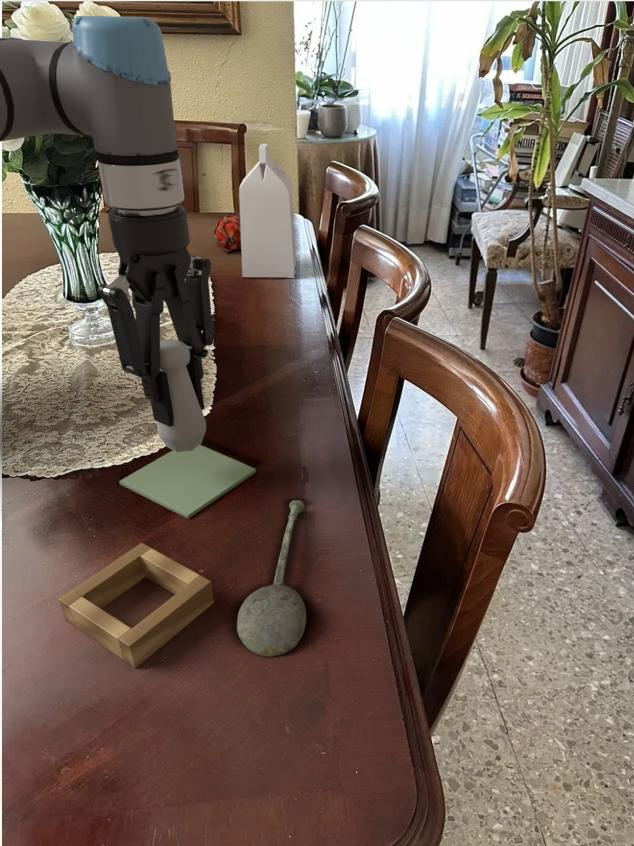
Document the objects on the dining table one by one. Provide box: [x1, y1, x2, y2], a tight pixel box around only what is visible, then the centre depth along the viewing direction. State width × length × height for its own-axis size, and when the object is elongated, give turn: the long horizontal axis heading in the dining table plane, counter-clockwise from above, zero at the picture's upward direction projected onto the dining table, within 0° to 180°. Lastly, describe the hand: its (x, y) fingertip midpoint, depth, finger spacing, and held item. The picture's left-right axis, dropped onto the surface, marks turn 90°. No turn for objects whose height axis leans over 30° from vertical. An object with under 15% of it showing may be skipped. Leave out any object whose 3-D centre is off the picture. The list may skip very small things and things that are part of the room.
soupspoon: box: [236, 500, 307, 658], centre depth 69 cm, size 22×3×7 cm
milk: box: [238, 143, 297, 279], centre depth 145 cm, size 12×12×26 cm
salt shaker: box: [156, 338, 207, 452], centre depth 77 cm, size 6×6×13 cm
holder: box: [58, 542, 215, 669], centre depth 64 cm, size 10×10×3 cm
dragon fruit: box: [213, 215, 241, 253], centre depth 163 cm, size 8×8×12 cm
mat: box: [118, 444, 257, 520], centre depth 84 cm, size 12×12×1 cm
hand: (179, 413), depth 79 cm, fingers closed on salt shaker, 4 cm apart
